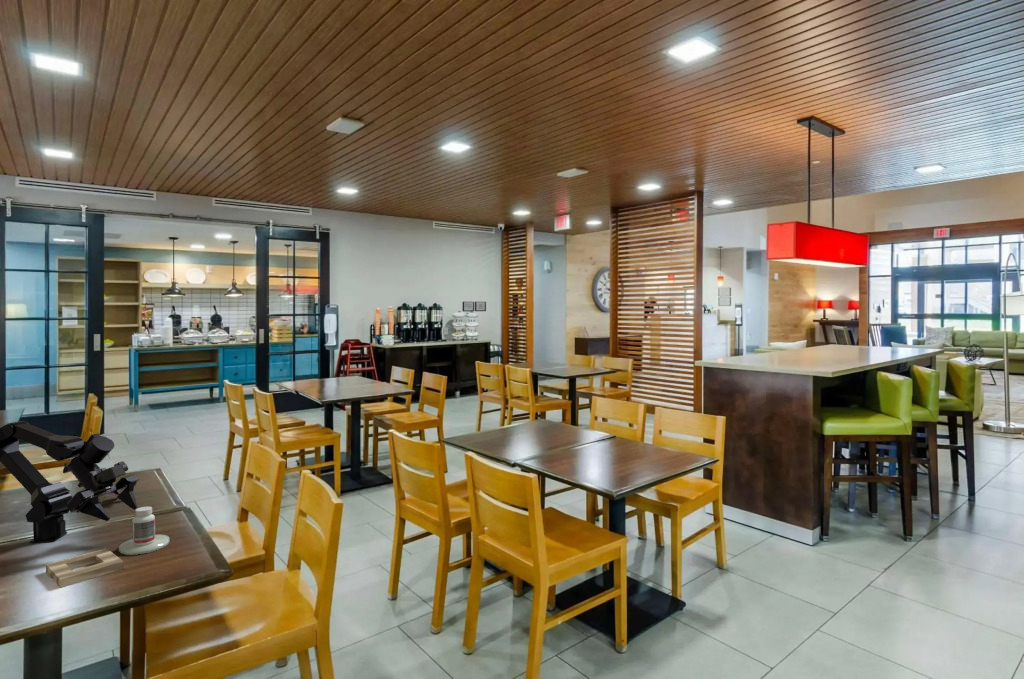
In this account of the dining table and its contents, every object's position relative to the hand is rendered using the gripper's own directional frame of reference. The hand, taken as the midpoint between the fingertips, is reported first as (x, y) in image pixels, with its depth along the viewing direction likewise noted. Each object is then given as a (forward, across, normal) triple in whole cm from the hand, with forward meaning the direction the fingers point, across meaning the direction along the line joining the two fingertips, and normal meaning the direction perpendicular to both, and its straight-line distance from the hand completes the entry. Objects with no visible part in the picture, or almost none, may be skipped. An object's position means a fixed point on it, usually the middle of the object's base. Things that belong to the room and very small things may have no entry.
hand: (122, 514), depth 158 cm
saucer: (+11, 0, +1) cm, 11 cm away
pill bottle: (+10, 0, +1) cm, 10 cm away
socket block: (+9, -16, +3) cm, 19 cm away
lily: (-17, +30, +31) cm, 47 cm away
